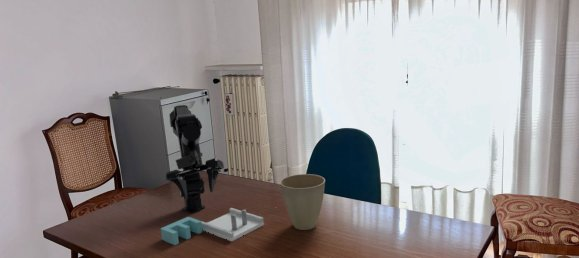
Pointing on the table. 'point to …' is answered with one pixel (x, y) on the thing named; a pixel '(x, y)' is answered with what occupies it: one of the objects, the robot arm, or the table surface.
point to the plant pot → (303, 199)
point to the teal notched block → (181, 230)
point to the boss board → (228, 226)
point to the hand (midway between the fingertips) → (198, 195)
